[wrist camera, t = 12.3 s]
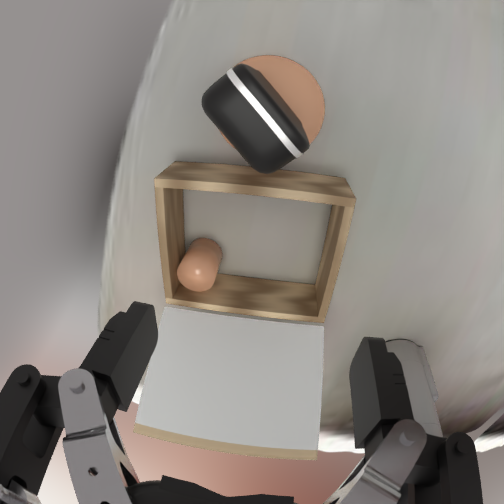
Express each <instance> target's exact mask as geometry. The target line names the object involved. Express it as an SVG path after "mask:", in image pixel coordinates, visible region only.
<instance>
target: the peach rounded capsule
mask: <svg viewBox="0 0 504 504" xmlns="http://www.w3.org/2000/svg"><path fill="white" fill-rule="evenodd" d="M222 256H223V253H222V250H221V248H220V246H219V245H218V244H217V243H216V242H215V241H213V240H211V239H208V238H199V239H196V240H194V241H193V242H192V243H191V244H190V246H189V248H188V250H187V252H186V254H185V256H184V257H183V259H182V261H181V263H180V265H179V267H178V270H177V276H178V279H179V281H180V282H181V284H182V285H183V286H185V287H186V288H188V289H190V290H192V291H197V292H202V291H206V290H208V289H210V288H211V287H212V286H213V284H214V281H215V278H216V275H217V272H218V269H219V266H220V263H221V260H222Z"/></svg>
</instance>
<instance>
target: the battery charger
mask: <svg viewBox="0 0 504 504" xmlns="http://www.w3.org/2000/svg"><path fill="white" fill-rule="evenodd" d="M202 107H203V110H204V112H205V113H206V115H207V116H208V117H209V118H210V119H211V121H212V122H213V123H214V124H215V125H216V126H217V127H218V129H219V130H220V131H221V132H222V133H223V134H224V136H225V137H226V138H227V139H228V140H229V141H230V143H231V144H232V145H233V146H234V147H235V148H236V150H237V151H238V152H239V153H240V154H241V155H242V157H243V158H244V159H245V160H246V161H247V162H248V164H249V165H250V166H251V167H252V168H253V169H255V170H256V171H258V172H259V173H264V174H270V173H274V172H275V171H277V170H279V169H280V168H282V167H283V166H285V165H286V164H288V163H289V162H291V161H292V160H293V159H295V158H299V157H300V156H302V155H303V154H304V152H305V151H306V150H307V149H308V148H309V146H310V145H309V140H308V137H307V135H306V133H305V130H304V128H303V126H302V123H301V121H300V120H299V118H298V117H297V116H296V115H295V113H294V112H293V111H292V110H291V108H290V107H289V106H288V105H287V103H286V102H285V101H284V100H283V98H282V97H281V96H280V95H279V93H278V92H277V91H276V90H275V89H274V87H273V86H272V85H271V84H270V83H269V82H268V80H267V79H266V78H265V77H264V76H263V75H262V73H261V72H260V71H259V70H256V69H254V68H252V67H251V66H249V65H246V64H243V63H241V64H238V65H236V66H235V67H231V68H230V69H229V70H228V71H227V72H226V74H225V75H224V76H223V77H221V78H220V79H219V80H218V81H216V82H215V83H214V84H213V85H212V86H211V87H210V88H209V89H208V90H207V91H206V92H205V93H204V95H203V97H202Z"/></svg>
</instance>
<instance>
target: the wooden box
mask: <svg viewBox="0 0 504 504" xmlns="http://www.w3.org/2000/svg"><path fill="white" fill-rule="evenodd" d="M154 183H155V200H156V213H157V226H158V237H159V247H160V257H161V266H162V274H163V282H164V290H165V298H166V303H168V304H174V305H180V306H186V307H193V308H200V309H207V310H214V311H221V312H228V313H236V314H244V315H252V316H260V317H269V318H278V319H287V320H297V321H308V322H319V323H324V321H325V317H326V314H327V311H328V307H329V304H330V300H331V297H332V294H333V290H334V286H335V283H336V279H337V276H338V272H339V268H340V264H341V261H342V257H343V253H344V249H345V245H346V241H347V237H348V233H349V228H350V224H351V220H352V215H353V211H354V207H355V202H356V198H355V196H354V194H353V192H352V190H351V188H350V186H349V185H348V183H347V181H346V179H345V178H341V177H334V176H327V175H320V174H313V173H305V172H297V171H289V170H280V169H279V170H277V171H275V172H274V173H270V174H264V173H259V172H258V171H256V170H255V169H253V168H252V167H251V166H239V165H227V164H213V163H197V162H178V161H175V162H174V163H172V164H171V165H170V166H169V167H168V168H166V169H165V170H164V171H163V172H161V173H160V174H159V175H158V176H157V177H156V178H154ZM183 189H189V190H202V191H214V192H226V193H237V194H247V195H257V196H266V197H275V198H284V199H293V200H301V201H309V202H317V203H324V204H332V208H331V213H330V219H329V224H328V229H327V233H326V238H325V243H324V248H323V252H322V257H321V261H320V266H319V270H318V275H317V279H316V283H315V285H313V284H303V283H294V282H285V281H276V280H267V279H259V278H250V277H242V276H233V275H225V274H217V275H216V278H215V281H214V284H213V286H212V287H211V288H210V289H208V290H206V291H202V292H197V291H192V290H190V289H188V288H186V287H185V286H183V285H182V284H181V282H180V281H179V279H178V276H177V270H178V267H179V265H180V263H181V261H182V259H183V257H184V256H185V236H184V212H183Z"/></svg>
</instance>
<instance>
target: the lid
mask: <svg viewBox="0 0 504 504" xmlns="http://www.w3.org/2000/svg"><path fill="white" fill-rule="evenodd" d="M323 353H324V326H315V325H304V324H294V323H284V322H275V321H266V320H257V319H249V318H241V317H233V316H226V315H218V314H211V313H204V312H198V311H191V310H185V309H178V308H172V307H166V306H165V308H164V311H163V314H162V318H161V321H160V325H159V329H158V341H157V345H156V348H155V350H154V352H153V354H152V356H151V358H150V362H149V366H148V370H147V374H146V378H145V382H144V386H143V390H142V394H141V399H140V403H139V407H138V412H137V416H136V422H135V425H134V430H133V432H134V433H138V434H141V435H145V436H148V437H152V438H156V439H160V440H164V441H169V442H172V443H177V444H181V445H186V446H191V447H196V448H201V449H207V450H213V451H219V452H225V453H232V454H239V455H247V456H257V457H267V458H281V459H298V460H317V452H318V441H319V429H320V415H321V399H322V379H323Z"/></svg>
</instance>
